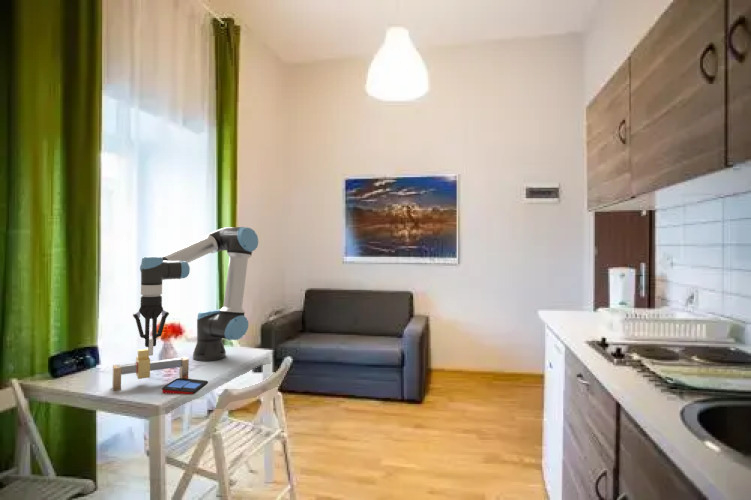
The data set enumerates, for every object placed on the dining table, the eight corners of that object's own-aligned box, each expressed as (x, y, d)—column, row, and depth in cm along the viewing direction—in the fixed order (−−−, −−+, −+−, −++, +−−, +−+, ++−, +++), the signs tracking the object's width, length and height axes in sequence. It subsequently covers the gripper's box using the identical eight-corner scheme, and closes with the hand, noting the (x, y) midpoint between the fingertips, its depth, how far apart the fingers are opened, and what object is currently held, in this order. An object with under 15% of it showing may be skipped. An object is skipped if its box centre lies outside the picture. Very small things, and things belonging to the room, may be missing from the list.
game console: (193, 395, 163) (193, 389, 163) (159, 394, 163) (159, 388, 163) (208, 383, 177) (208, 377, 177) (177, 382, 178) (177, 377, 177)
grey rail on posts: (185, 376, 184) (185, 356, 184) (188, 379, 180) (188, 358, 180) (112, 387, 169) (112, 364, 169) (113, 391, 165) (113, 367, 164)
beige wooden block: (147, 372, 176) (147, 347, 176) (149, 377, 171) (150, 351, 171) (135, 374, 174) (136, 348, 174) (138, 378, 168) (138, 352, 168)
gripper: (167, 293, 180) (166, 350, 181) (131, 295, 173) (130, 354, 173) (171, 295, 174) (170, 354, 174) (134, 297, 167) (132, 359, 167)
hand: (150, 354), depth 174 cm, fingers closed
